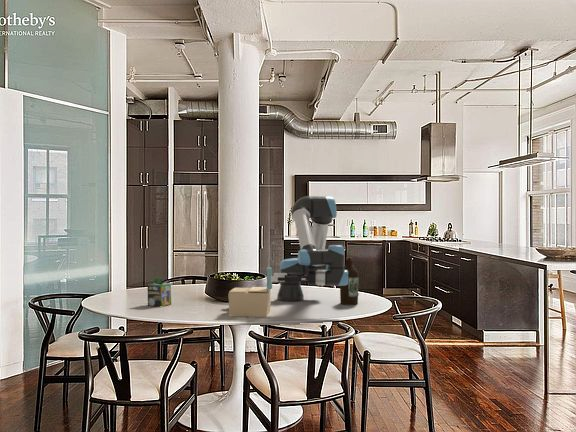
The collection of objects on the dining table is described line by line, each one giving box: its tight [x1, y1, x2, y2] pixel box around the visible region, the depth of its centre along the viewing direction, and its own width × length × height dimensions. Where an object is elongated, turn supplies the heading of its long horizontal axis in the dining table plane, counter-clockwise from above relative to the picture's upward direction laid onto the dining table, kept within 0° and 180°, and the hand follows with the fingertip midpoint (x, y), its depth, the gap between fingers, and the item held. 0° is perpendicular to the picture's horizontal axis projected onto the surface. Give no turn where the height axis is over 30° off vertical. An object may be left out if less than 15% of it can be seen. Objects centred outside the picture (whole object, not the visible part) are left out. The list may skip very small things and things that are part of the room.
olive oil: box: [339, 257, 360, 306], centre depth 306 cm, size 11×11×25 cm
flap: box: [248, 267, 273, 292], centre depth 274 cm, size 14×10×11 cm
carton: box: [227, 287, 271, 318], centre depth 275 cm, size 16×18×12 cm
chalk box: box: [146, 277, 172, 307], centre depth 300 cm, size 9×9×15 cm
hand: (272, 277), depth 273 cm, fingers open, 13 cm apart
